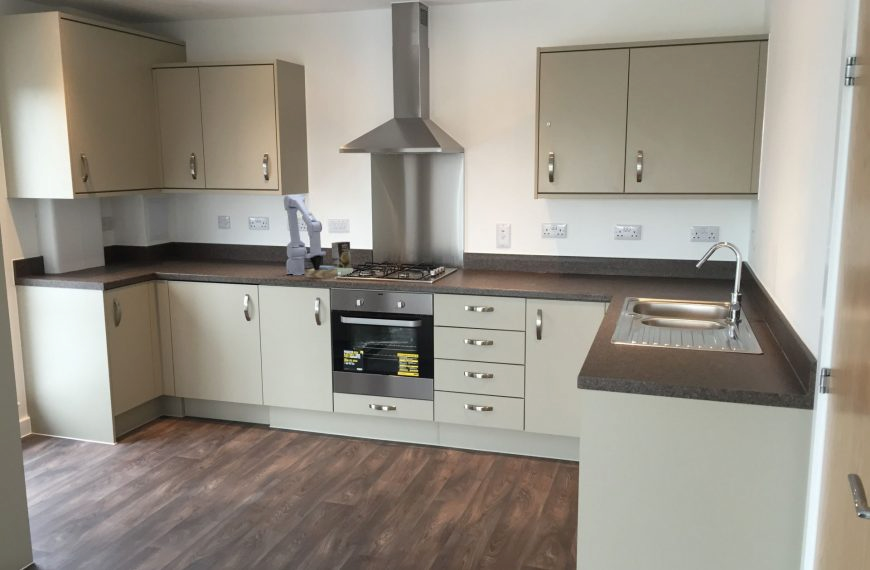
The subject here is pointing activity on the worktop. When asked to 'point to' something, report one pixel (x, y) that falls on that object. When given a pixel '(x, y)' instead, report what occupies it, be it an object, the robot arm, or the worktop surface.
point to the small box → (308, 262)
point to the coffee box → (341, 255)
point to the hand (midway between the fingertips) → (316, 270)
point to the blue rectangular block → (326, 267)
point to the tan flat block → (321, 273)
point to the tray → (344, 271)
